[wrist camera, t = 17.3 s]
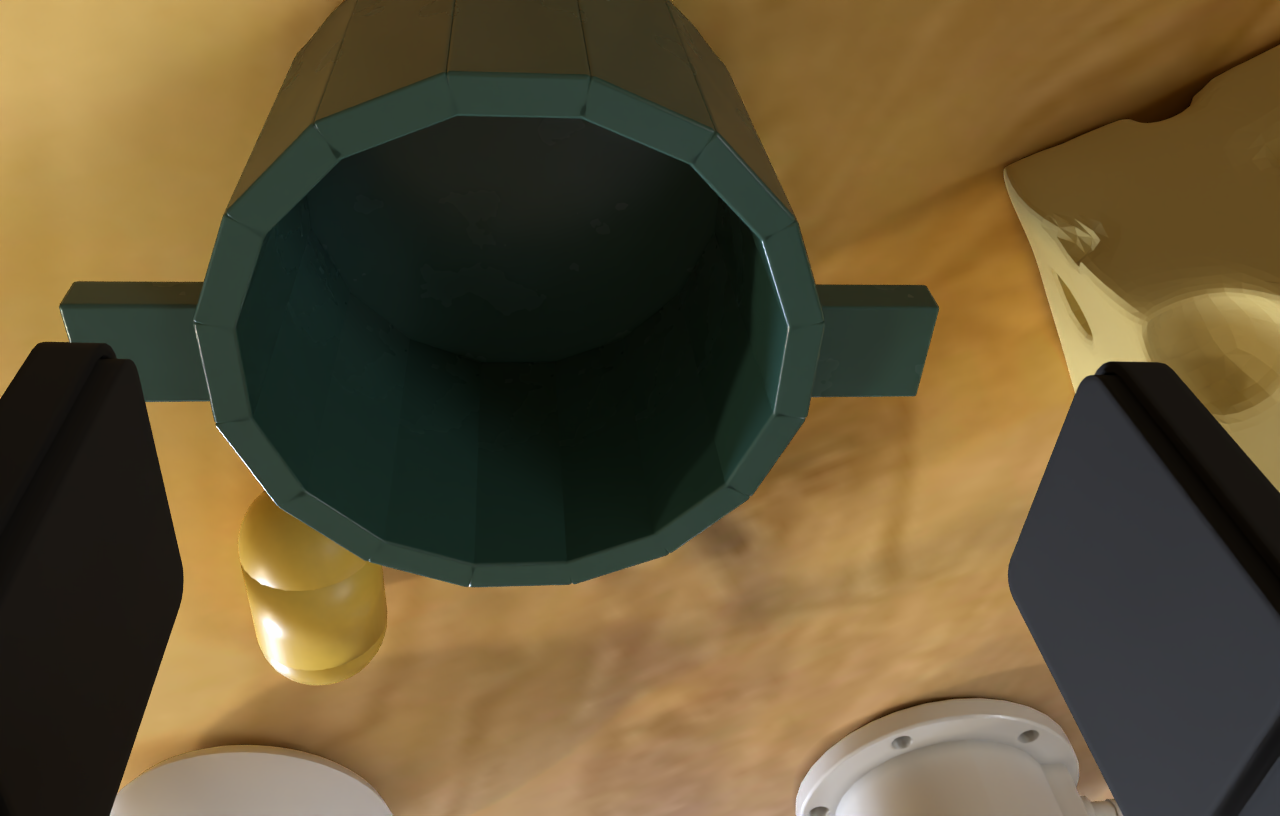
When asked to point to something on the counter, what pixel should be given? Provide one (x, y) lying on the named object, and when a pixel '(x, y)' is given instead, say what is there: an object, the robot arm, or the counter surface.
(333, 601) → the yellow capsule
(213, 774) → the flower in vase
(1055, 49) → the counter surface
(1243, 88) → the cheese
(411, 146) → the pot
